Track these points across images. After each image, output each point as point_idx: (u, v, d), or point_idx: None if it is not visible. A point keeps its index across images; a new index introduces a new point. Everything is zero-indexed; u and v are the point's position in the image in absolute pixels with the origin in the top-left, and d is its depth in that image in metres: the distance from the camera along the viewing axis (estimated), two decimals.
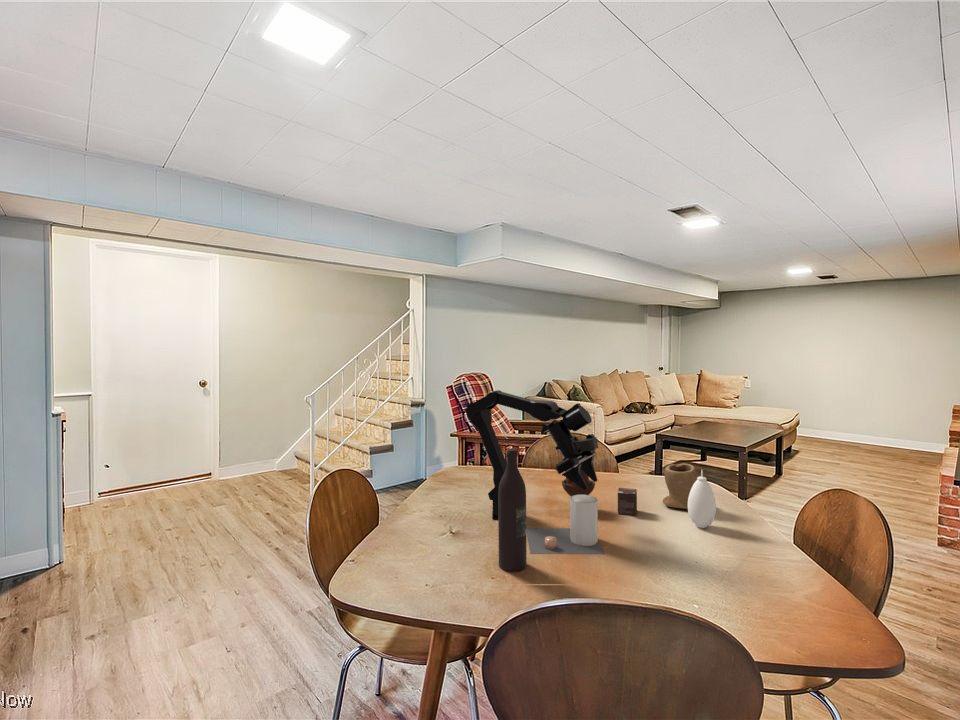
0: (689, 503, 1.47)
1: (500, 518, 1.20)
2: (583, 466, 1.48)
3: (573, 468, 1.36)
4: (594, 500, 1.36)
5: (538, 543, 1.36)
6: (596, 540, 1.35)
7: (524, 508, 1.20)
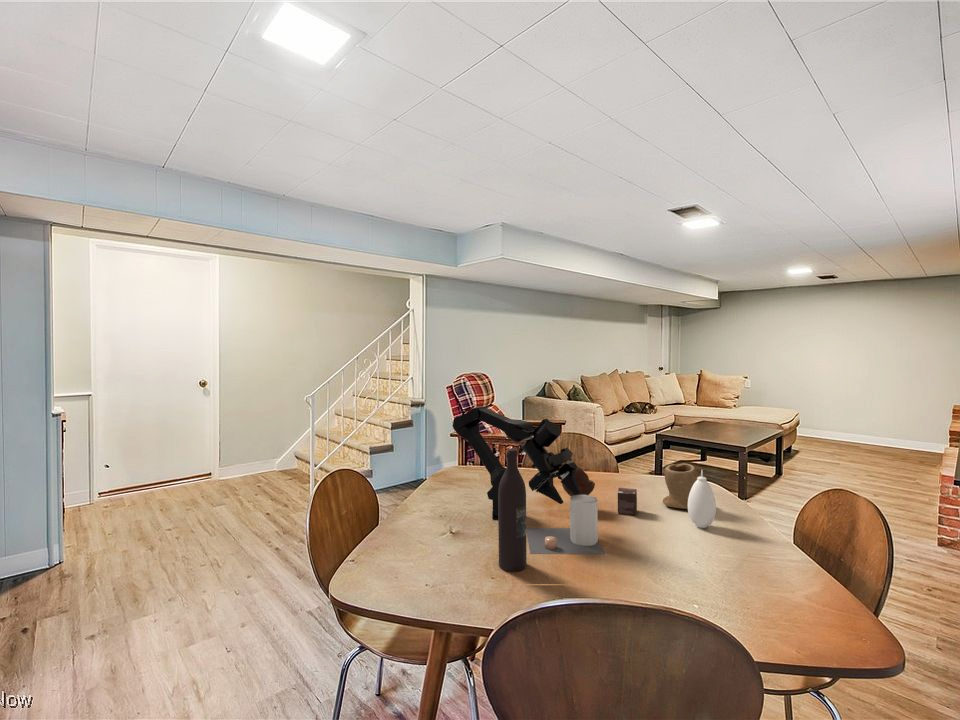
0: (689, 503, 1.47)
1: (500, 518, 1.20)
2: (565, 481, 1.47)
3: (544, 483, 1.37)
4: (594, 500, 1.36)
5: (538, 543, 1.36)
6: (596, 540, 1.35)
7: (524, 508, 1.20)
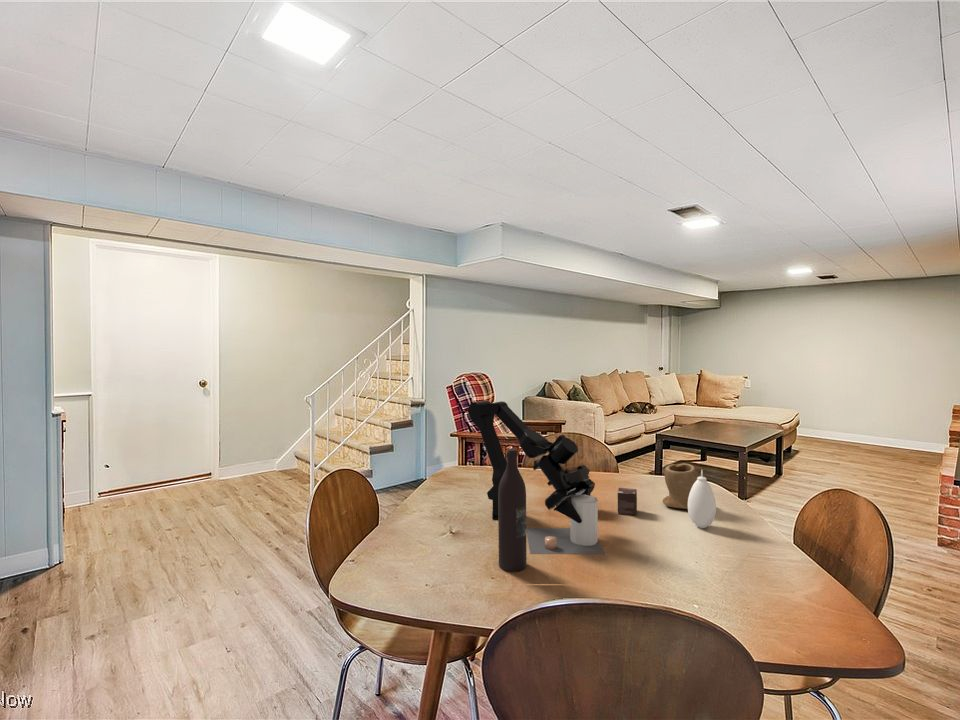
0: (689, 503, 1.47)
1: (500, 518, 1.20)
2: None
3: (562, 501, 1.33)
4: (594, 500, 1.36)
5: (538, 543, 1.36)
6: (596, 540, 1.35)
7: (524, 508, 1.20)
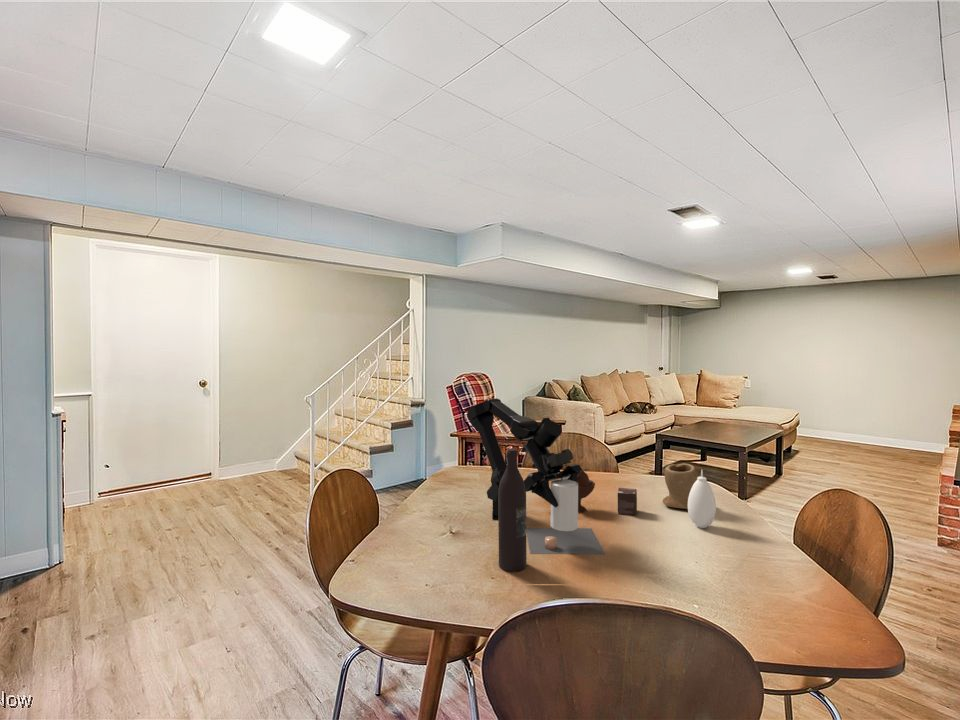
0: (689, 503, 1.47)
1: (500, 518, 1.20)
2: None
3: (538, 484, 1.31)
4: (573, 485, 1.31)
5: (538, 543, 1.36)
6: (574, 527, 1.31)
7: (524, 508, 1.20)
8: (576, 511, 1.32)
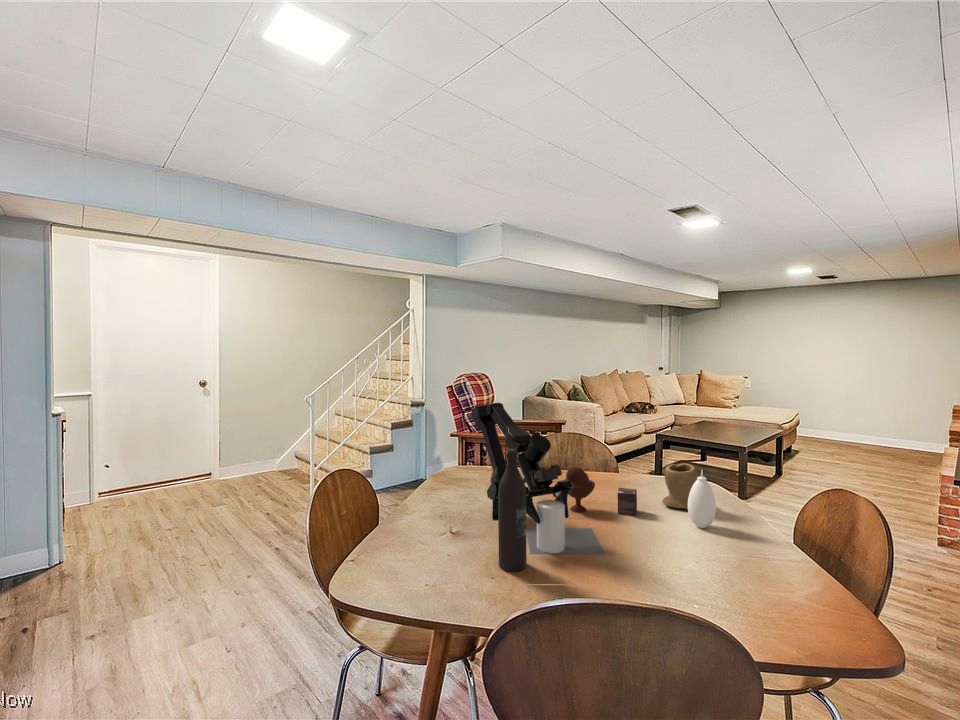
0: (689, 503, 1.47)
1: (500, 518, 1.20)
2: None
3: None
4: (558, 507, 1.30)
5: None
6: (559, 549, 1.30)
7: (524, 508, 1.20)
8: (561, 533, 1.30)
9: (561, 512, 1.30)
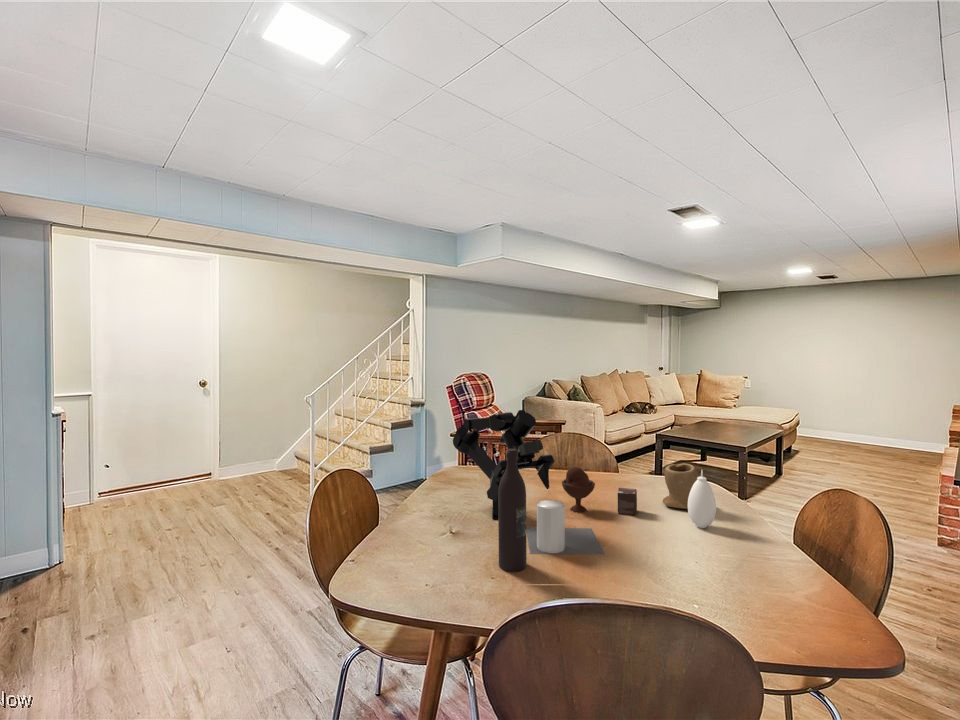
0: (689, 503, 1.47)
1: (500, 518, 1.20)
2: (540, 474, 1.48)
3: (504, 471, 1.41)
4: (558, 507, 1.30)
5: None
6: (559, 549, 1.30)
7: (524, 508, 1.20)
8: (561, 533, 1.30)
9: (561, 512, 1.30)
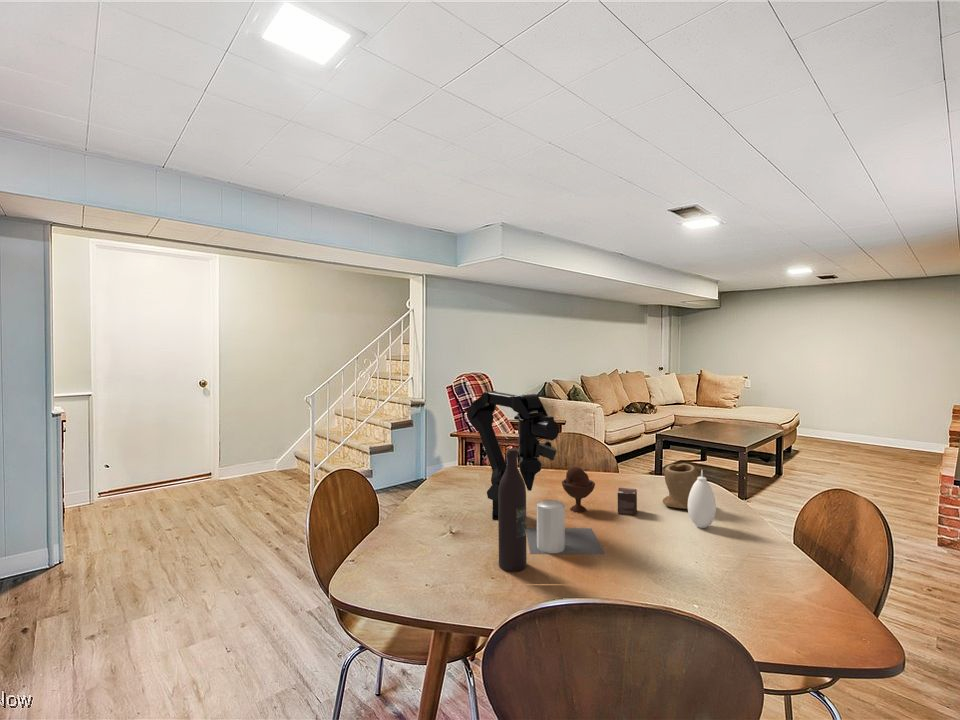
0: (689, 503, 1.47)
1: (500, 518, 1.20)
2: None
3: (535, 470, 1.39)
4: (558, 507, 1.30)
5: None
6: (559, 549, 1.30)
7: (524, 508, 1.20)
8: (561, 533, 1.30)
9: (561, 512, 1.30)
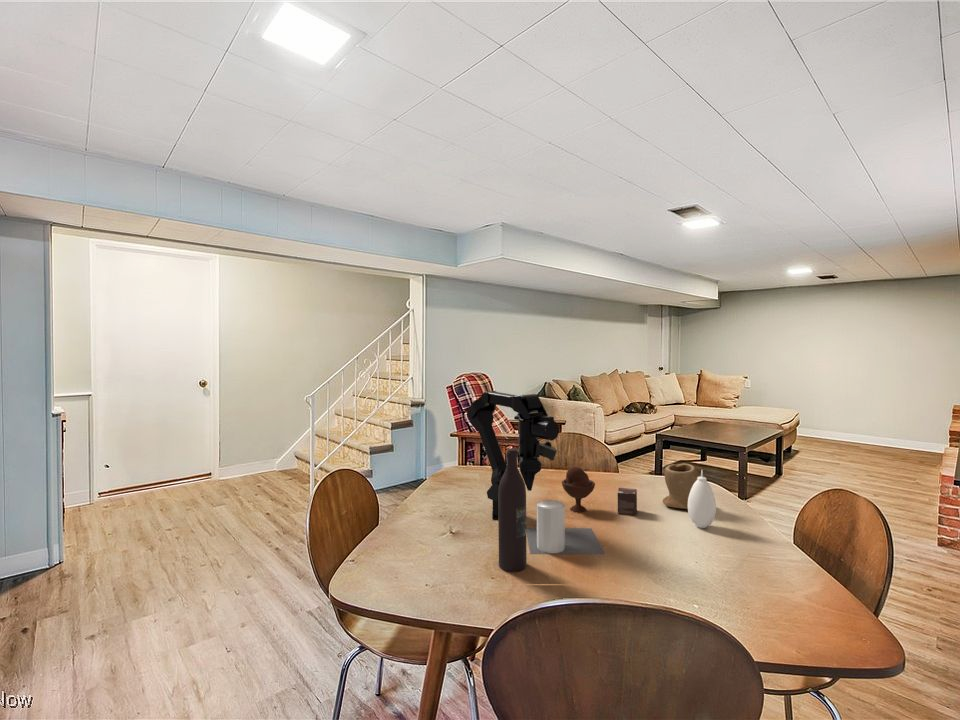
0: (689, 503, 1.47)
1: (500, 518, 1.20)
2: None
3: (535, 470, 1.39)
4: (558, 507, 1.30)
5: None
6: (559, 549, 1.30)
7: (524, 508, 1.20)
8: (561, 533, 1.30)
9: (561, 512, 1.30)
